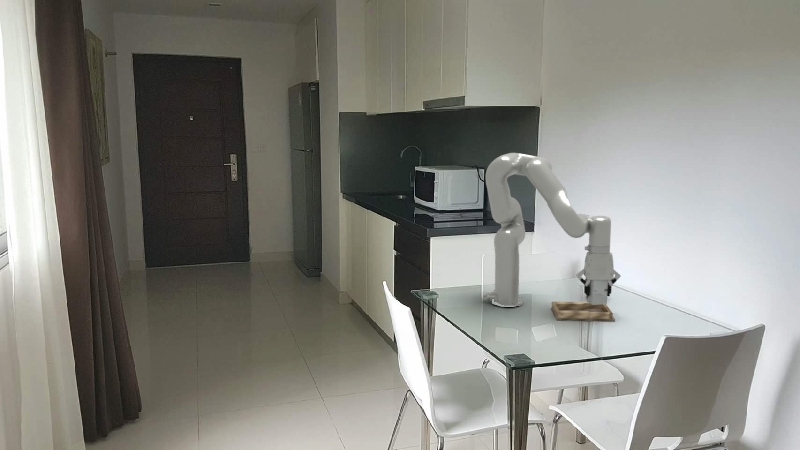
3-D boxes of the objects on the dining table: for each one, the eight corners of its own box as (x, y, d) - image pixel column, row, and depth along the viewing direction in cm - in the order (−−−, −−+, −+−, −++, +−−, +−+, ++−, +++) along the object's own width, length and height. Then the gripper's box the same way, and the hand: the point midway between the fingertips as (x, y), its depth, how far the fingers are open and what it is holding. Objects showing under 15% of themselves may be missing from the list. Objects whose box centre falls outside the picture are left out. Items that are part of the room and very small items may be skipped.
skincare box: (593, 305, 220) (594, 274, 218) (586, 301, 225) (587, 271, 222) (607, 304, 222) (609, 272, 219) (601, 300, 226) (602, 269, 224)
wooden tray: (556, 320, 220) (557, 312, 219) (551, 308, 232) (551, 301, 232) (614, 321, 218) (615, 313, 217) (606, 309, 230) (606, 302, 230)
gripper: (577, 252, 216) (575, 298, 220) (626, 251, 215) (624, 298, 218) (573, 247, 224) (572, 292, 227) (620, 246, 222) (618, 292, 225)
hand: (597, 294), depth 223 cm, fingers closed on skincare box, 6 cm apart
